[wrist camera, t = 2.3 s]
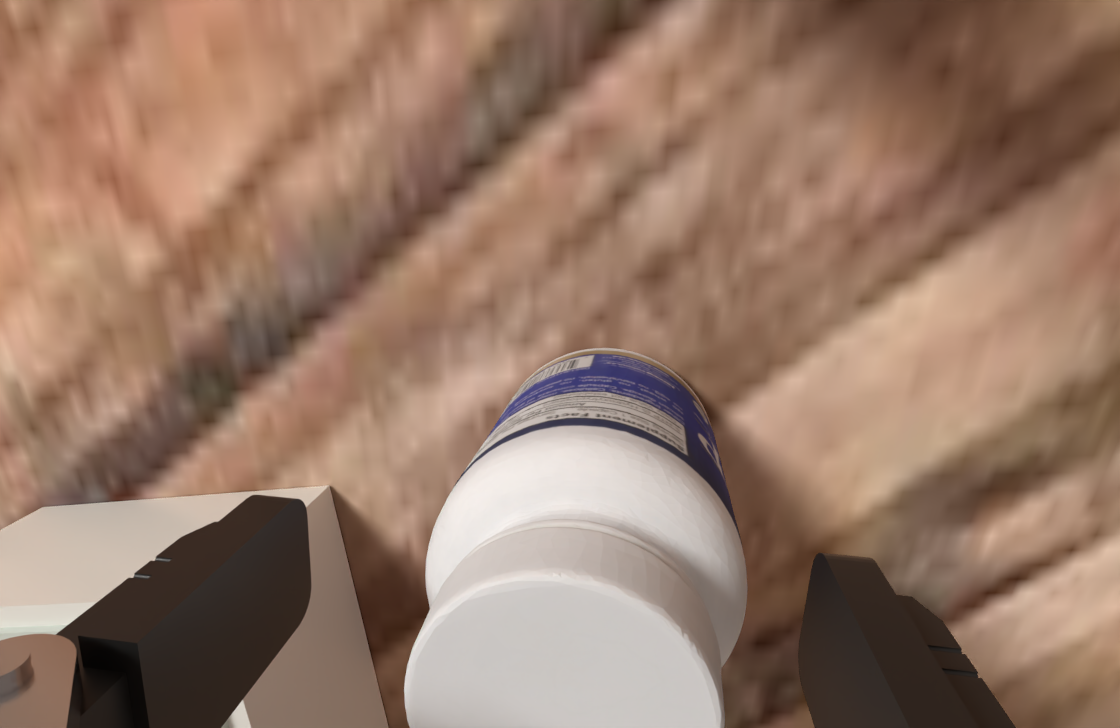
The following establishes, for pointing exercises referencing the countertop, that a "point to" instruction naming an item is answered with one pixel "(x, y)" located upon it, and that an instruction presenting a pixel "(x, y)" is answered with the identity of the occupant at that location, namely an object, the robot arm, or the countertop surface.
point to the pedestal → (138, 537)
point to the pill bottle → (584, 561)
